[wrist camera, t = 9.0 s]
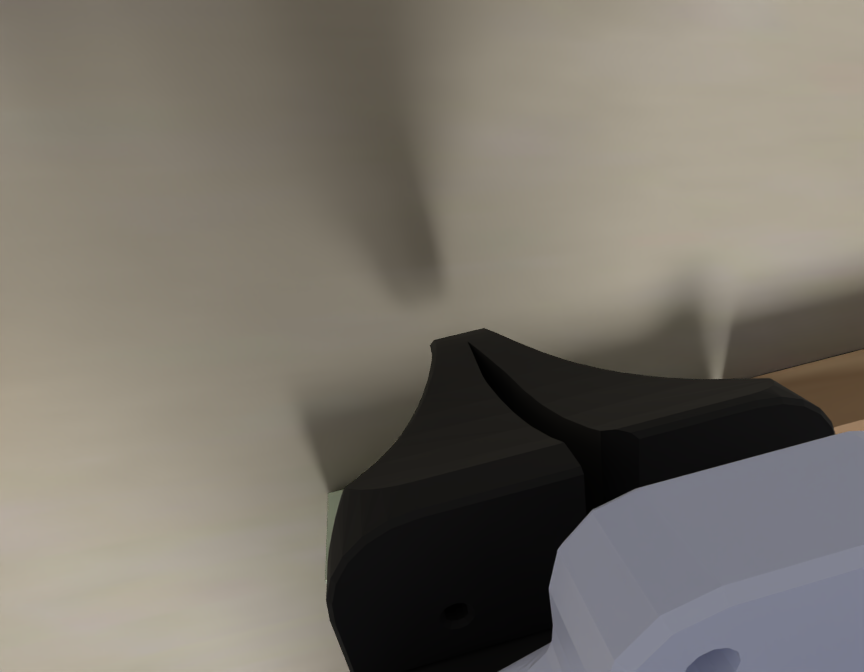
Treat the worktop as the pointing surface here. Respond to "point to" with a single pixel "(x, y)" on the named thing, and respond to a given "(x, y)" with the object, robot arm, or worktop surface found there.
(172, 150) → the worktop surface
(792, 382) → the cradle
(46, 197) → the worktop surface
